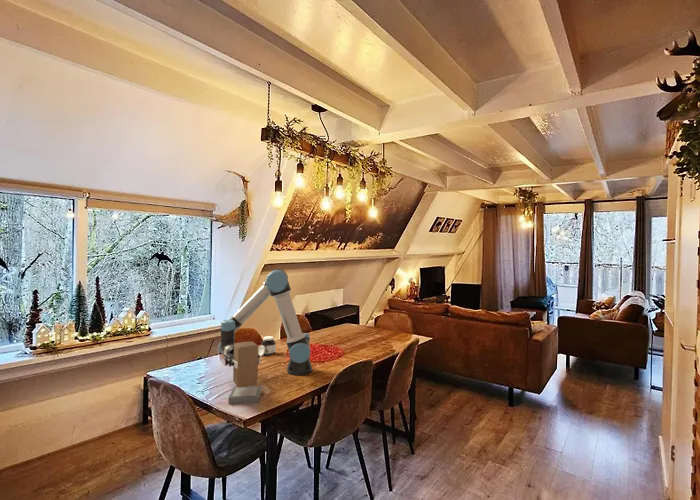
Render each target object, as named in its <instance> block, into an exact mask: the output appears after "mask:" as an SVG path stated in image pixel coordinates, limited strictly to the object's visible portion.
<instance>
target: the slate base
mask: <svg viewBox="0 0 700 500" xmlns="http://www.w3.org/2000/svg"><path fill="white" fill-rule="evenodd" d="M262 388H263V387H262V386H261V385H257V386H256V385H252V386H246V387H240V388H239V387H237V386H234V387H233V388H232V390H231V392H230V394H229V395H228V400H227V401H228V403H227V404H228V405H229V404H230V405H233V404H234V405H235V404H258V403H259V401H260V398H261V394H262Z"/></svg>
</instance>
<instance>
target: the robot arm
mask: <svg viewBox="0 0 700 500" xmlns="http://www.w3.org/2000/svg"><path fill="white" fill-rule="evenodd" d="M291 290H292V289H291V286H290V282H289V277H288V274H287V272H286V271H285V270H283V269H280V268H276V269H272V271H270V272H269V273H268V274H267V275H266V279H265V280H264V281H263V283H262V285H261V286H260V287H259V289H257V291H255V292H254V294H252V296H251V297H249V299H248V300H247V301H246V302H245V303H244V304H243V305H242V306H240V308H239V309H237V311H236V312H235V313H234V314H233V315H232V316H231V317H230V318H229V319H224V320H222V321H221V322H220V342H219V344H218V346H217V349H218V352H220V354H221V355H223V361H225V362H224V365H225V366H228V367H233V366H234V367H235V368H236V369H238V363H237V362H236V361H235V360H234V344H235V341H236V340H235V338H236V337H235V334H236V332H237V331H238V330H239V328H241V326H242V325H243V324H244V323H245V322H246V321H247V320H249V318H250V317H251V316H252V315H254V313H255V312H256V311H257V310H258V309H259V308H260V307H261V306H262V305H263V304H264V303H265V301H267V300H268V298H270V297H271V298H273V299H274V300H275V303H276V306H277V309H278V312H279V315H280V319H281V322H282V326H283V327H284V331H285V334H286V337H287V339H286V341H285V343H286V347H287V349H288V356H289V360H288V364H287V367H286V372H287V373H288V374H289V375H293V376H304V375H308V374H311V373H312V371H313V366H312V363H311V360H310V355H311V347H310V345H311V344H310V342H311V341H310V340H311V337H310V334H309V333H308V332H307V333H306V332H303V331H302V328H301V326H300V323H299V319H298V316H297V313H296V309H295V307H294V303H293V301H292V298H291ZM260 357H261V356H260V355H258V366H259V365H261V359H260Z"/></svg>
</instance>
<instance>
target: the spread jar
mask: <svg viewBox="0 0 700 500" xmlns="http://www.w3.org/2000/svg"><path fill="white" fill-rule="evenodd" d="M262 338H263V340H262V341H261V343H260V345H258V355H260V357H263V356H271V355H274V354H275V352H276V349H277V348H276V347H277V344H276V343H277V342H276V341H275V340H274V336H271V335H268V336H263V337H262Z"/></svg>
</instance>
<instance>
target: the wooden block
mask: <svg viewBox="0 0 700 500" xmlns="http://www.w3.org/2000/svg"><path fill="white" fill-rule="evenodd" d="M258 347H259V345H258V344H257V343H255V342H254V341H253V340H252V341H251V340H250V341H243V342H242V341H239V342H234V360H235V361H236V362H237V363H238V369H236V368H235V367H234V366H232V367H233V369H232V371H233V374H232V375H233V379H232V381H233V384H235V387H239V388H240V387H246V386H256V385H257V386H258V377H259V373H258V372H259V365H258Z"/></svg>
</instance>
